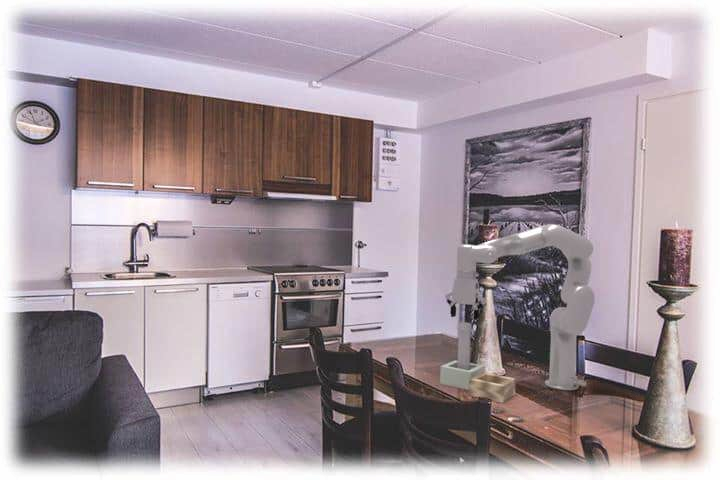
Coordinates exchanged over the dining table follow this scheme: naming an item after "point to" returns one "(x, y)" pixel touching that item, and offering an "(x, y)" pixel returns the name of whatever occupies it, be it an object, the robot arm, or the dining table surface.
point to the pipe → (464, 344)
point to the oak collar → (492, 387)
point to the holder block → (459, 374)
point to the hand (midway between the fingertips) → (464, 318)
